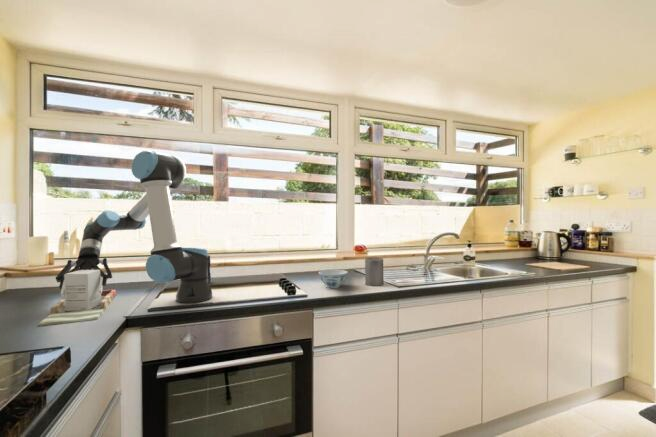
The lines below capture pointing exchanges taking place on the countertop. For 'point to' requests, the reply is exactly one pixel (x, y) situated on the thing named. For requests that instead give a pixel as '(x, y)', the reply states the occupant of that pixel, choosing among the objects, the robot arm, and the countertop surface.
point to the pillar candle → (374, 271)
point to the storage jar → (209, 270)
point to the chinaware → (333, 277)
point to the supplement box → (82, 290)
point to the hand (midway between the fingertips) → (81, 293)
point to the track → (78, 315)
